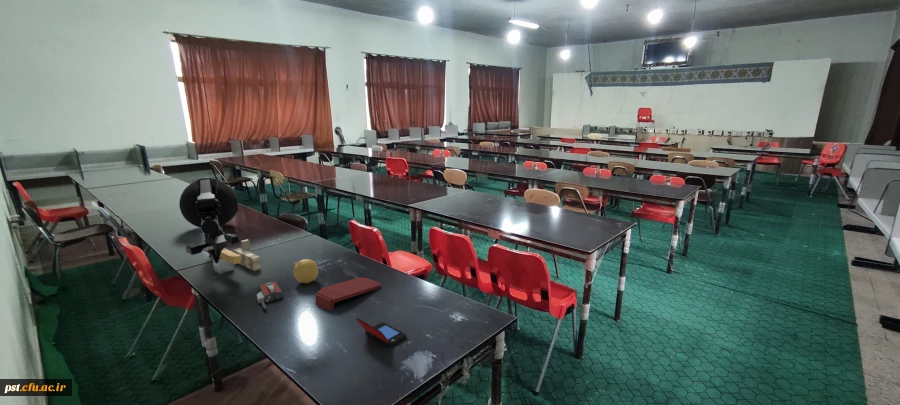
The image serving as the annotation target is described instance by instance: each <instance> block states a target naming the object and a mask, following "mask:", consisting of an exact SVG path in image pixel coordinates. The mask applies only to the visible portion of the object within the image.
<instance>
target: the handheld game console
mask: <svg viewBox="0 0 900 405" xmlns="http://www.w3.org/2000/svg"><path fill="white" fill-rule="evenodd" d="M356 321H357V322H358V324H359V325H360V326H361V327H362V328H363V329H364V330H365V331H364V332H365V334H366V336H367V335H368V336H370V337H371V338H373V339H375V340H378V341H379V342H380V343H381V344H383V345H385V346H386V347H388V348H392V347H393V346H394V345H397V344H399V343H400V342H402V341H403V340H405V339H407V334H406V333H404V332H402V331H401V330H398V329H396V328H395V327H393V326H392V325H389V324H387V323H386V322H379V323H378V324H375V325H374V326H372V325H370V324H369V323H367V322H366V321H363V319H360V318H359V317H358V318H357V317H356Z"/></svg>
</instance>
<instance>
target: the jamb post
mask: <svg viewBox="0 0 900 405" xmlns="http://www.w3.org/2000/svg"><path fill="white" fill-rule="evenodd" d="M212 264H213V270H214V271H215V272H216V273H218V274H220V275H222V274H225V273H229V272H232V271H234V270H236V269H235V264H233V263H231V262H229V261H227V260H225V259H223V258H219V262H218V263H217V264H216V263H215V262H214V261H213V260H212Z"/></svg>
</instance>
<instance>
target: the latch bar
mask: <svg viewBox="0 0 900 405" xmlns="http://www.w3.org/2000/svg"><path fill="white" fill-rule="evenodd" d="M220 258H223V259H225V260H227V261H229V262H231V263H233V264H234V265H236V264H239V263H240V262H241V255H238V254H236V253H234V251H231V249H230V250H229V249H227V247H226V248H224V249H223V250H222V251H221V254H220Z"/></svg>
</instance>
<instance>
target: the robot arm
mask: <svg viewBox="0 0 900 405" xmlns="http://www.w3.org/2000/svg"><path fill="white" fill-rule="evenodd" d="M215 179H216V178H212V177H211V176H204V177H199V178H198V179H197V180H195V181H194V182H195V187H196V191H198V193H199V196H198V197H197V202H196V211H197V218H200V217H201V221H202V223H201V228H200V229H201V232H202V233H203V237H204V238H203V242H204V243H202V244H199V243H197V242H195V243H191V244H188V245H186V246H185V252H186V253H187V254H189V255H192V256H193V255H197V254H201V253H202V252H206V253H207V254H208V257H209V258H210V259H212V262H213V261H214V262H215V263H216V264H217V263H218V262H219V258H220V254H221V251H222V250H223V249H224V248H226V249H227V248H228V244H232V245H235V244H238V243H241V240H240V237H239V235H236V234H233V233H225V231H223V227H222V226H220V225H219V223H218V217H217V215H220V214H219V212H221V208H220V202H219V201H218V200H216V199H215V196H216V195H217V192H216V190H217V189H218V187H217V181H216V180H215ZM217 210H218V212H217ZM199 212H200V215H199ZM203 212H204V213H203Z"/></svg>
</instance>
